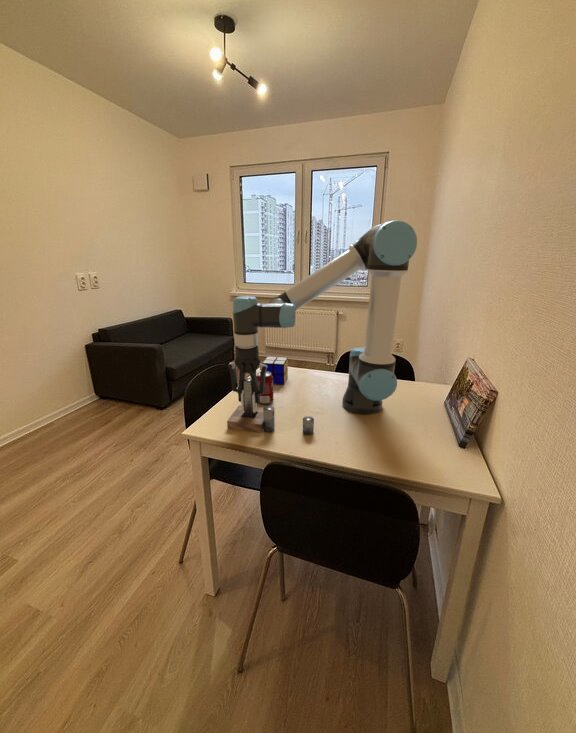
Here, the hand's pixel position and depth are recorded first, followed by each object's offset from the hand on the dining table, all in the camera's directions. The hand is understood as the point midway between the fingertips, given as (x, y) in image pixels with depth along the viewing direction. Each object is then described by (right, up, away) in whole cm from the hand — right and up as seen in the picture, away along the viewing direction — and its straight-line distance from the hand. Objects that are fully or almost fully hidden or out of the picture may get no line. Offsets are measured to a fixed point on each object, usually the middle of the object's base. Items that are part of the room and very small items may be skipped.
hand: (249, 410), depth 112 cm
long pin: (0, -2, +1) cm, 3 cm away
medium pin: (+7, -6, -4) cm, 10 cm away
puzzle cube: (+8, +9, +39) cm, 40 cm away
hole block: (0, -4, +1) cm, 5 cm away
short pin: (+20, -7, -5) cm, 22 cm away
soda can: (+4, +1, +17) cm, 18 cm away
